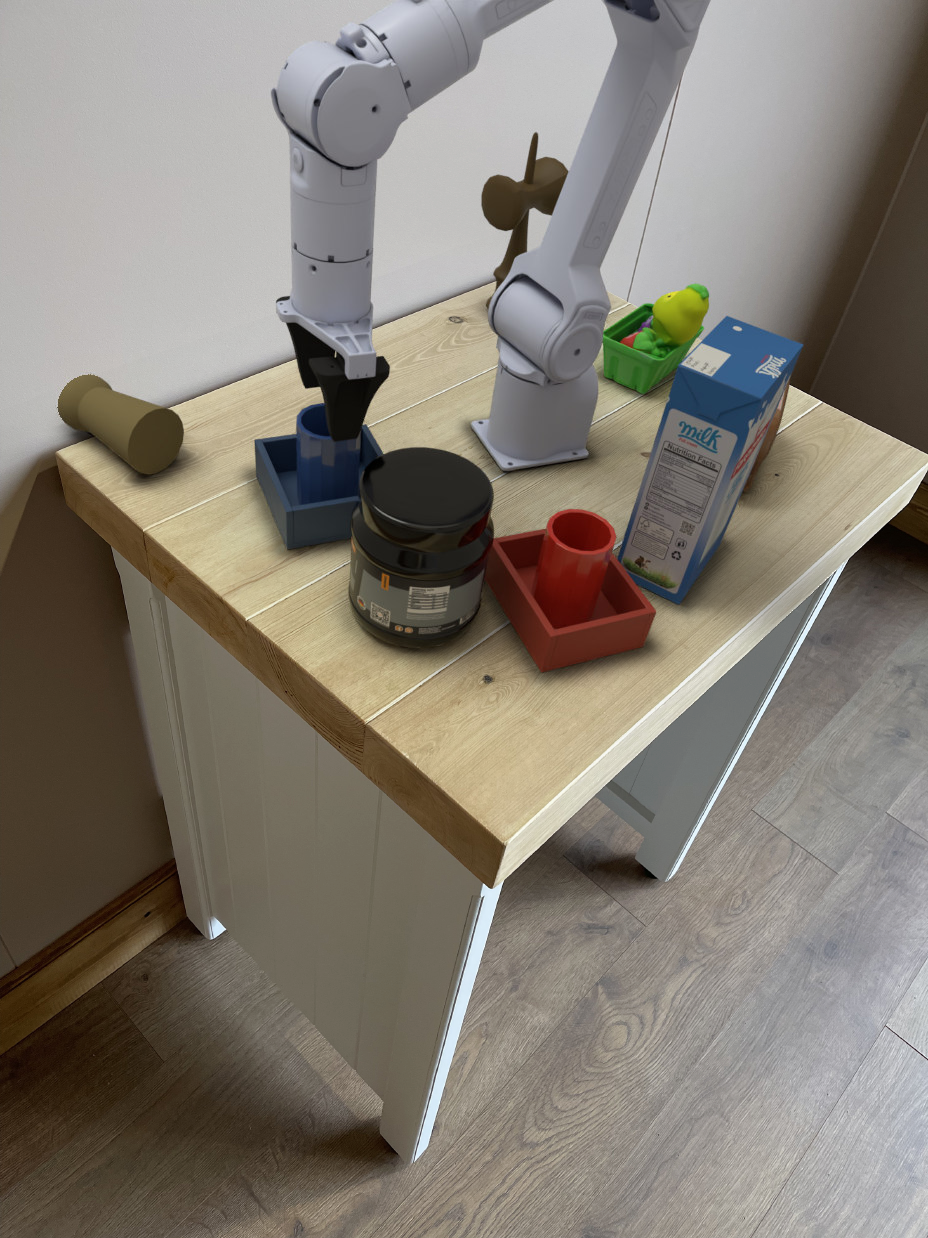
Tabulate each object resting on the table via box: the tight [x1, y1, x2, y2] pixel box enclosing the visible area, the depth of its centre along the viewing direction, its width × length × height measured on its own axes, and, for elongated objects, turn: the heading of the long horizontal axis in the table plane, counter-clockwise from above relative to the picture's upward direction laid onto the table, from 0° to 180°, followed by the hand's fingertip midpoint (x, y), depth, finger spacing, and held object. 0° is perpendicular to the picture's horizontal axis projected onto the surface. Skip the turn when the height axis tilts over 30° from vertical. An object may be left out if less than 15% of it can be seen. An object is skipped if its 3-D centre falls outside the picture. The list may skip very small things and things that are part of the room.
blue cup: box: [295, 402, 361, 505], centre depth 78 cm, size 5×5×8 cm
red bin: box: [484, 527, 657, 673], centre depth 73 cm, size 9×11×4 cm
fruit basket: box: [602, 283, 710, 395], centre depth 99 cm, size 11×9×11 cm
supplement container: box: [347, 446, 495, 649], centre depth 69 cm, size 10×10×12 cm
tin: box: [742, 380, 791, 493], centre depth 90 cm, size 15×3×8 cm, turn 159°
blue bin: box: [253, 423, 384, 550], centre depth 79 cm, size 10×10×4 cm
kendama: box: [480, 131, 569, 310], centre depth 102 cm, size 6×10×20 cm, turn 139°
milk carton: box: [616, 315, 804, 606], centre depth 74 cm, size 10×6×20 cm, turn 148°
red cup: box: [531, 508, 617, 629], centre depth 71 cm, size 5×5×8 cm
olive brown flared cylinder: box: [56, 373, 185, 475], centre depth 81 cm, size 6×6×11 cm
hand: (329, 410), depth 74 cm, fingers open, 7 cm apart
